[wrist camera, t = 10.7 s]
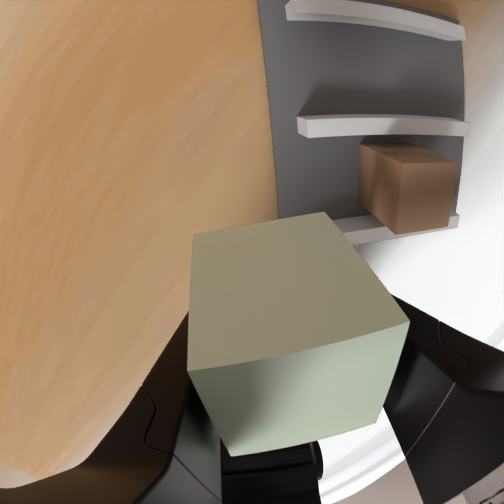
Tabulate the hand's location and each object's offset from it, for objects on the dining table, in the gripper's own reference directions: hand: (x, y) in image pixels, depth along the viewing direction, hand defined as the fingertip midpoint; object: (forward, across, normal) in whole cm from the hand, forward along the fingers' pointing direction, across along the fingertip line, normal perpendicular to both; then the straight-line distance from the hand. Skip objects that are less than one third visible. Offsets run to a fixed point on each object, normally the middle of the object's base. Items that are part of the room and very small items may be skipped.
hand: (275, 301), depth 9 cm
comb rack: (+11, -10, -3) cm, 15 cm away
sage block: (+1, 0, 0) cm, 1 cm away
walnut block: (+11, -10, 0) cm, 15 cm away
